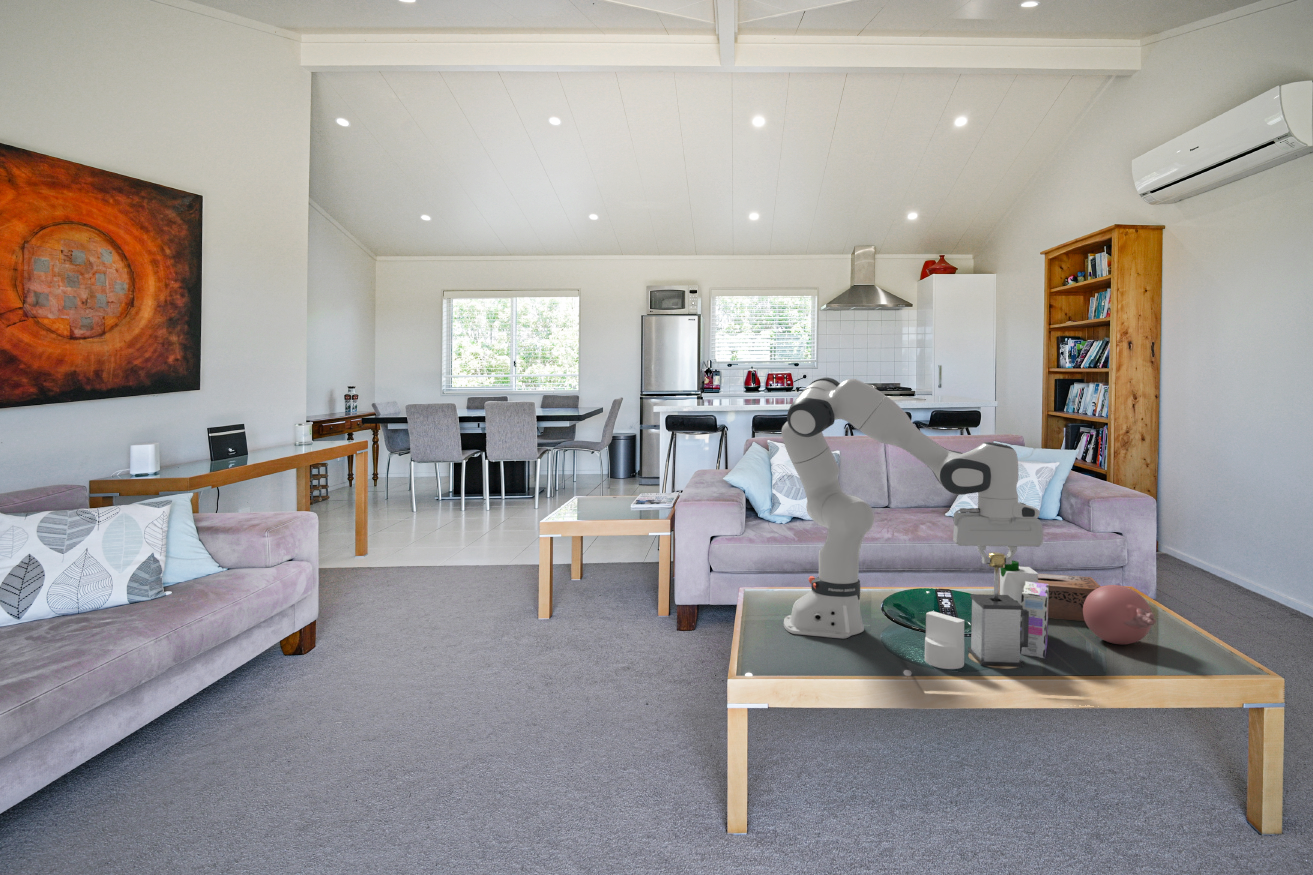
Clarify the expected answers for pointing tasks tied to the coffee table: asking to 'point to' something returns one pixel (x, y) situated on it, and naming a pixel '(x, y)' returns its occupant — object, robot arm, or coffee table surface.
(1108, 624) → the pink oval ball
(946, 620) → the cylinder with rectangular tab
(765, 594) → the coffee table surface
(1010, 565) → the milk carton
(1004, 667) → the trivet
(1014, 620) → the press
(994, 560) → the plunger
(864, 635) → the coffee table surface
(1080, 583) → the tissue box cover
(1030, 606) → the candy box
